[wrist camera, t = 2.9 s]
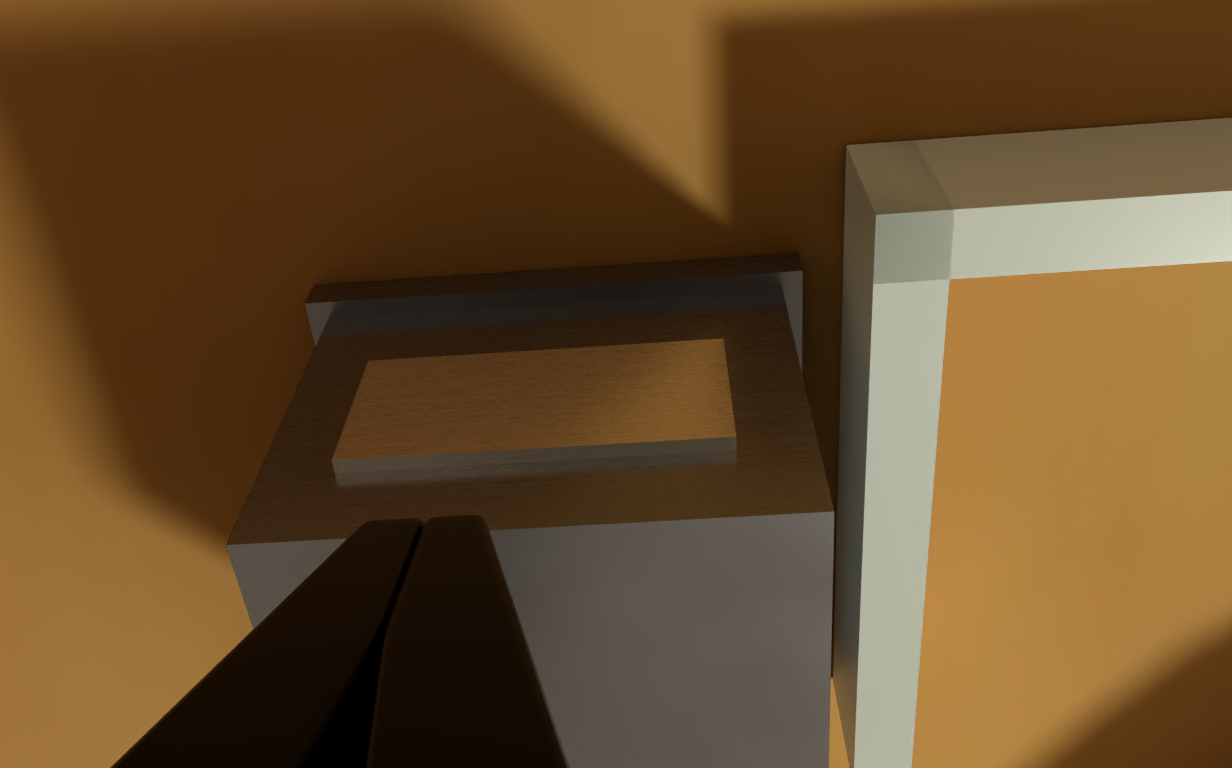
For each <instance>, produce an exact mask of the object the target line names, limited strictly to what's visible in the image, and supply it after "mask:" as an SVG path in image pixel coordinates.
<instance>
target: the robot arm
mask: <svg viewBox="0 0 1232 768" xmlns="http://www.w3.org/2000/svg"><path fill="white" fill-rule="evenodd" d="M111 768H570V765H569V762H568V759H567V756H566V753H565V750H564V747H563V744H562V741H561V738H560V736H559V733H558V730H557V727H556V724H555V721H554V718H553V715H552V712H551V709H550V706H549V704H548V701H547V698H546V695H545V692H544V689H543V686H542V683H541V680H540V677H539V674H538V671H537V669H536V666H535V663H534V660H533V657H532V654H531V651H530V648H529V645H528V642H527V639H526V637H525V634H524V631H523V628H522V625H521V622H520V619H519V616H518V613H517V610H516V607H515V604H514V602H513V599H512V596H511V593H510V590H509V587H508V584H507V581H506V578H505V575H504V572H503V570H502V567H501V564H500V561H499V558H498V555H497V552H496V549H495V546H494V543H493V540H492V538H491V535H490V532H489V529H488V526H487V523H486V521H485V519H484V518H483V517H481V516H479V515H458V516H440V517H433V518H431V519H429V520H428V521H426V523H424V522H422V521H421V520H419V519H418V518H404V519H385V520H373V521H368V522H366V523H364V524H363V525H361V526H360V527H359V528H358V529H357V530H356V531H355V532H354V533H353V534H352V535H350V536H349V537H348V538H347V539H346V540H345V541H344V542H343V543H342V544H341V545H340V546H339V547H338V548H337V549H336V550H335V551H334V552H333V553H332V554H331V555H330V556H329V557H328V558H327V559H326V560H325V561H324V562H323V563H322V564H320V565H319V566H318V567H317V568H316V569H315V570H314V571H313V572H312V573H311V574H310V575H309V576H308V577H307V578H306V579H305V580H304V581H303V582H302V583H301V584H300V585H299V586H298V587H297V588H296V589H295V590H294V591H293V592H292V593H291V594H289V595H288V596H287V597H286V598H285V599H284V600H283V601H282V602H281V603H280V604H279V605H278V606H277V607H276V608H275V609H274V610H273V611H272V612H271V613H270V614H269V615H268V616H267V617H266V618H265V619H264V620H263V621H262V622H261V623H259V624H258V625H257V626H256V627H255V628H254V629H253V630H252V631H251V632H250V633H249V634H248V635H247V636H246V637H245V638H244V639H243V640H242V641H241V642H240V643H239V644H238V645H237V646H236V647H235V648H234V649H233V650H232V651H231V652H230V653H228V654H227V655H226V656H225V657H224V658H223V659H222V660H221V661H220V662H219V663H218V664H217V665H216V666H215V667H214V668H213V669H212V670H211V671H210V672H209V673H208V674H207V675H206V676H205V677H204V678H203V679H202V680H201V681H200V682H199V683H197V684H196V685H195V686H194V687H193V688H192V689H191V690H190V691H189V692H188V693H187V694H186V695H185V696H184V697H183V698H182V699H181V700H180V701H179V702H178V703H177V704H176V705H175V706H174V707H173V708H172V709H171V710H170V711H169V712H167V713H166V714H165V715H164V716H163V717H162V718H161V719H160V720H159V721H158V722H157V723H156V724H155V725H154V726H153V727H152V728H151V729H150V730H149V731H148V732H147V733H146V734H145V735H144V736H143V737H142V738H141V739H140V740H139V741H137V742H136V743H135V744H134V745H133V746H132V747H131V748H130V749H129V750H128V751H127V752H126V753H125V754H124V755H123V756H122V757H121V758H120V759H119V760H118V761H117V762H116V763H115V764H114V765H113V766H112V767H111Z"/></svg>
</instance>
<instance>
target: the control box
mask: <svg viewBox="0 0 1232 768" xmlns="http://www.w3.org/2000/svg"><path fill="white" fill-rule="evenodd" d="M802 300H803V270H802V267H801V263H800V259H799V256H798V253H795V254H780V255H765V256H750V257H735V258H720V259H705V260H690V261H675V262H660V263H645V264H630V265H615V266H600V267H585V268H570V269H555V270H540V271H525V272H510V273H495V274H480V275H465V276H450V277H435V278H420V279H405V280H390V281H375V282H360V283H345V284H331V285H316V286H313V288H312V290H311V292H310V294H309V296H308V298H307V300H306V302H305V307H306V311H307V315H308V319H309V324H310V328H311V332H312V336H313V340H314V344H315V349H314V351H313V354H312V356H311V358H310V360H309V362H308V365H307V367H306V369H305V371H304V373H303V376H302V378H301V380H300V382H299V384H298V387H297V389H296V391H295V393H294V396H293V398H292V400H291V402H290V404H289V407H288V409H287V411H286V413H285V415H284V418H283V420H282V422H281V424H280V427H279V429H278V431H277V433H276V435H275V438H274V440H273V442H272V444H271V446H270V449H269V451H268V453H267V455H266V458H265V460H264V462H263V464H262V466H261V469H260V471H259V473H258V475H257V477H256V480H255V482H254V484H253V486H252V488H251V491H250V493H249V495H248V497H247V500H246V502H245V504H244V506H243V508H242V511H241V513H240V515H239V517H238V519H237V522H236V524H235V526H234V528H233V531H232V533H231V535H230V537H229V539H228V542H227V544H226V547H227V550H228V553H229V556H230V559H231V562H232V565H233V568H234V571H235V574H236V577H237V581H238V584H239V587H240V590H241V593H242V596H243V599H244V602H245V605H246V608H247V611H248V614H249V617H250V620H251V623H252V626H253V629H254V628H255V627H256V626H257V625H258V624H259V623H261V622H262V621H263V620H264V619H265V618H266V617H267V616H268V615H269V614H270V613H271V612H272V611H273V610H274V609H275V608H276V607H277V606H278V605H279V604H280V603H281V602H282V601H283V600H284V599H285V598H286V597H287V596H288V595H289V594H291V593H292V592H293V591H294V590H295V589H296V588H297V587H298V586H299V585H300V584H301V583H302V582H303V581H304V580H305V579H306V578H307V577H308V576H309V575H310V574H311V573H312V572H313V571H314V570H315V569H316V568H317V567H318V566H319V565H320V564H322V563H323V562H324V561H325V560H326V559H327V558H328V557H329V556H330V555H331V554H332V553H333V552H334V551H335V550H336V549H337V548H338V547H339V546H340V545H341V544H342V543H343V542H344V541H345V540H346V539H347V538H348V537H349V536H350V535H352V534H353V533H354V532H355V531H356V530H357V529H358V528H359V527H360V526H361V525H363V524H364V523H366V522H368V521H373V520H385V519H404V518H418V519H419V520H421V521H422V522H424V523H426V521H428V520H429V519H431V518H433V517H440V516H458V515H479V516H481V517H483V518H484V519H485V521H486V523H487V526H488V529H489V532H490V535H491V538H492V540H493V543H494V546H495V549H496V552H497V555H498V558H499V561H500V564H501V567H502V570H503V572H504V575H505V578H506V581H507V584H508V587H509V590H510V593H511V596H512V599H513V602H514V604H515V607H516V610H517V613H518V616H519V619H520V622H521V625H522V628H523V631H524V634H525V637H526V639H527V642H528V645H529V648H530V651H531V654H532V657H533V660H534V663H535V666H536V669H537V671H538V674H539V677H540V680H541V683H542V686H543V689H544V692H545V695H546V698H547V701H548V704H549V706H550V709H551V712H552V715H553V718H554V721H555V724H556V727H557V730H558V733H559V736H560V738H561V741H562V744H563V747H564V750H565V753H566V756H567V759H568V762H569V765H570V768H829V724H830V681H831V637H832V593H833V549H834V508H833V504H832V499H831V495H830V491H829V486H828V482H827V478H826V474H825V469H824V465H823V461H822V456H821V452H820V448H819V444H818V439H817V435H816V431H815V426H814V422H813V418H812V414H811V409H810V405H809V401H808V396H807V392H806V388H805V384H804V379H803V375H802Z"/></svg>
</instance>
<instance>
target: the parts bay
mask: <svg viewBox="0 0 1232 768" xmlns="http://www.w3.org/2000/svg"><path fill="white" fill-rule="evenodd" d="M1222 261H1232V118H1219V119H1205V120H1191V121H1177V122H1163V123H1149V124H1135V125H1121V126H1107V127H1093V128H1079V129H1065V130H1051V131H1037V132H1023V133H1009V134H995V135H981V136H967V137H953V138H939V139H925V140H911V141H897V142H883V143H869V144H855V145H846V170H845V211H844V252H843V293H842V334H841V375H840V416H839V457H838V498H837V539H836V580H835V621H834V662H833V683H834V688H835V694H836V699H837V704H838V709H839V714H840V719H841V724H842V730H843V735H844V740H845V745H846V750H847V755H848V761H849V766H850V768H911V766H912V753H913V740H914V727H915V714H916V701H917V689H918V676H919V663H920V650H921V637H922V624H923V611H924V599H925V586H926V573H927V560H928V547H929V534H930V522H931V509H932V496H933V483H934V470H935V457H936V444H937V432H938V419H939V406H940V393H941V380H942V367H943V354H944V342H945V329H946V316H947V303H948V290H949V279H961V278H977V277H992V276H1007V275H1023V274H1038V273H1053V272H1069V271H1084V270H1099V269H1115V268H1130V267H1145V266H1161V265H1176V264H1191V263H1207V262H1222Z"/></svg>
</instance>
